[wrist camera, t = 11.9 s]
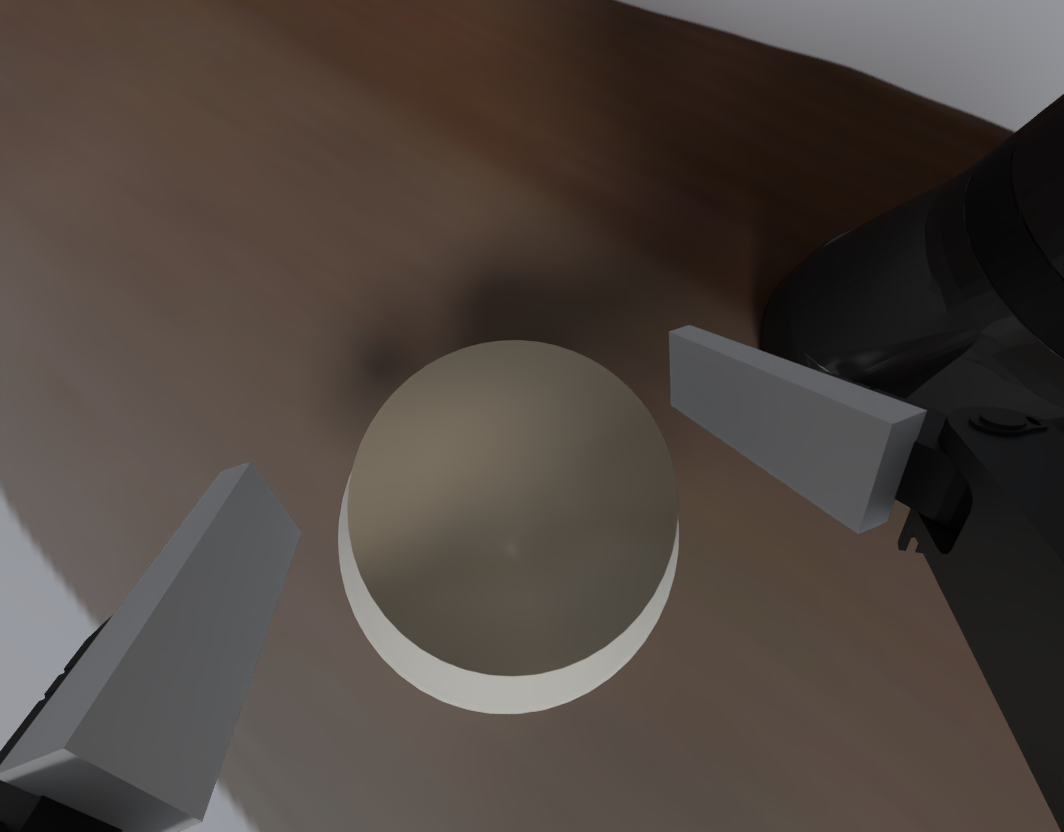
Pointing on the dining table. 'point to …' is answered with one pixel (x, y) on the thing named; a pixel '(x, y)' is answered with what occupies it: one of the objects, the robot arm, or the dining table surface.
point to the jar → (512, 508)
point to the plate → (482, 688)
